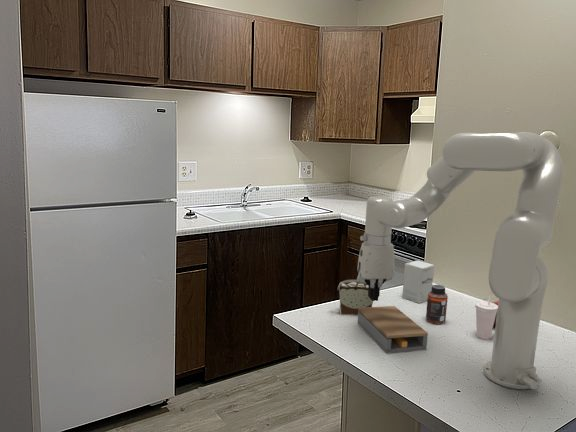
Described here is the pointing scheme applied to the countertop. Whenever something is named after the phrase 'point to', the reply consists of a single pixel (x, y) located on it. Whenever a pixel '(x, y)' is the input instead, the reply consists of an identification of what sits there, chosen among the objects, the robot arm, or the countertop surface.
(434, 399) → the countertop surface
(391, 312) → the lid
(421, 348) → the bar
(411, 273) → the supplement box
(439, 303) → the supplement bottle
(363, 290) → the food container
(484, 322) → the smoothie
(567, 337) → the countertop surface
